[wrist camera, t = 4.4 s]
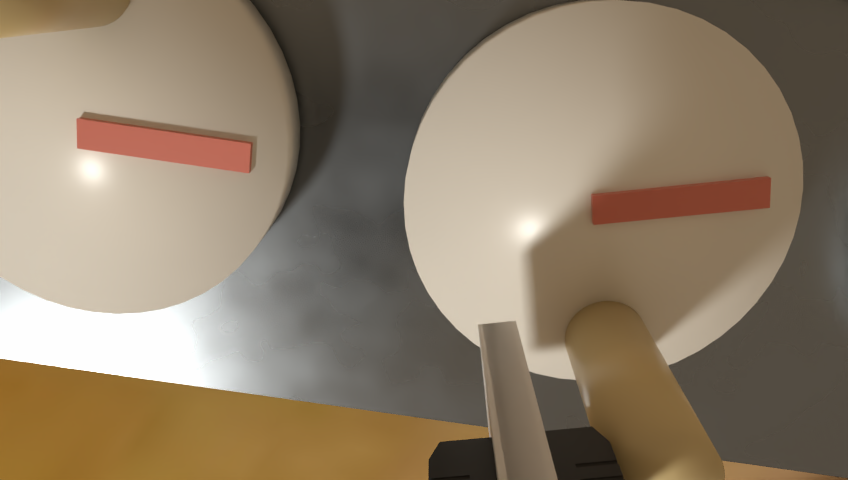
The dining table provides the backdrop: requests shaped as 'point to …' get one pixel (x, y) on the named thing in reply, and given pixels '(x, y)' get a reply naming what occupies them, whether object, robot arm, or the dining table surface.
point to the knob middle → (607, 207)
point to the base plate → (401, 284)
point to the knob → (139, 147)
